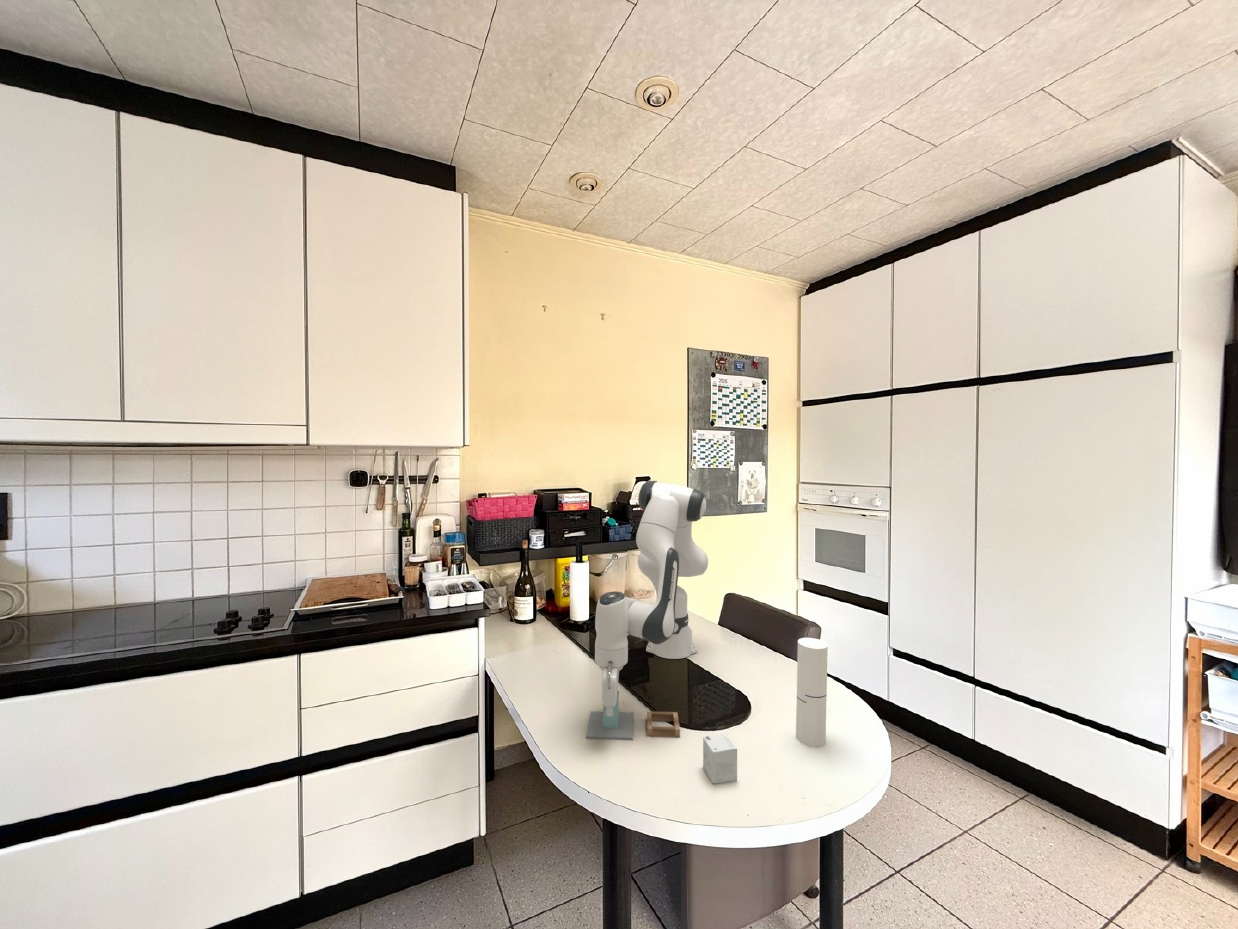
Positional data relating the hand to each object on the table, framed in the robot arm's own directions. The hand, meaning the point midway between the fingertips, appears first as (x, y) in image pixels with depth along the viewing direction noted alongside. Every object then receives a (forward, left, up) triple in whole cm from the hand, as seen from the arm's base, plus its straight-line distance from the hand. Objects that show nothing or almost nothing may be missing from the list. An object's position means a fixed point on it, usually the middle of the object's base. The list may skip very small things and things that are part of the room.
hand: (610, 705), depth 130 cm
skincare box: (+18, +26, -6) cm, 32 cm away
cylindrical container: (+3, +52, -6) cm, 52 cm away
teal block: (0, 0, -5) cm, 5 cm away
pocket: (0, +14, -6) cm, 15 cm away
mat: (0, 0, -6) cm, 6 cm away
